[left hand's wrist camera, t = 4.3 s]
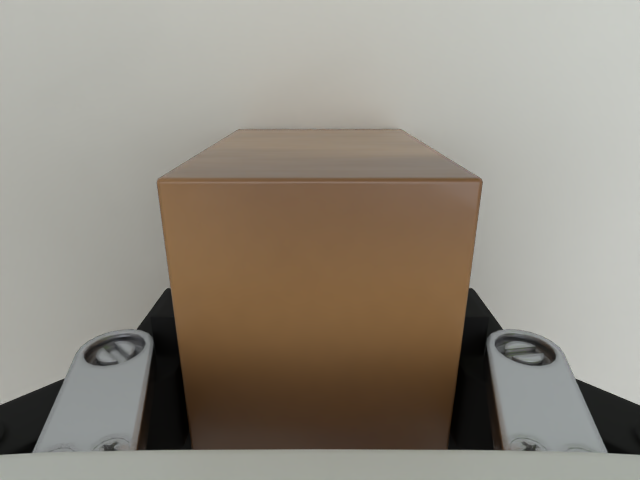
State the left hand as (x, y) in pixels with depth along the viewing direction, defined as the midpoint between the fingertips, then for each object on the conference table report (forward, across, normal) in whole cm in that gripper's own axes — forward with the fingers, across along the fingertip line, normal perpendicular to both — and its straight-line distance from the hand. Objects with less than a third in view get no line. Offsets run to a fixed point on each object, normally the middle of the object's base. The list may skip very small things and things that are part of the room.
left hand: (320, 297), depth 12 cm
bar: (+2, 0, -23) cm, 23 cm away
